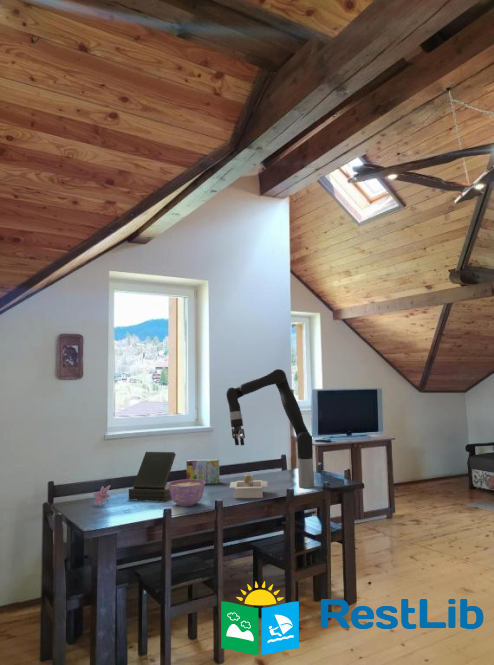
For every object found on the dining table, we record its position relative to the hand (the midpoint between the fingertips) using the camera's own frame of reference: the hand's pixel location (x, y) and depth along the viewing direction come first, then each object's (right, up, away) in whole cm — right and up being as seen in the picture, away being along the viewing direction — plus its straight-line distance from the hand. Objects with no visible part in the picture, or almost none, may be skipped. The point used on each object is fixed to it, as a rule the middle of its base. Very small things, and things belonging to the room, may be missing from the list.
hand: (239, 445), depth 296 cm
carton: (+6, -24, -21) cm, 32 cm away
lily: (-76, -25, -33) cm, 86 cm away
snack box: (-25, -29, +18) cm, 42 cm away
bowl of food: (-28, -23, -40) cm, 54 cm away
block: (+6, -24, -21) cm, 32 cm away
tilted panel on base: (-49, -26, -18) cm, 59 cm away
